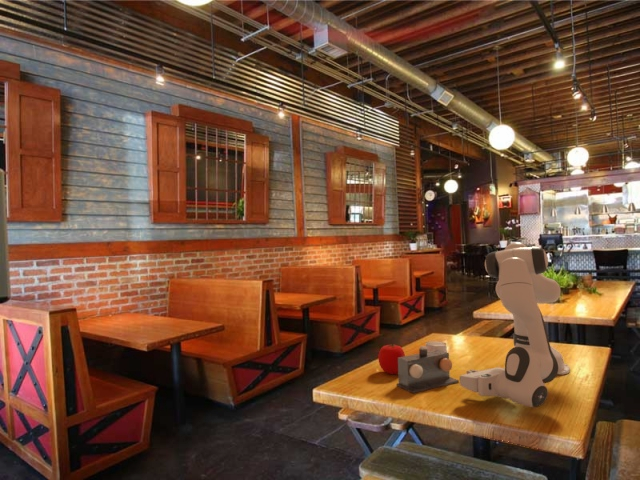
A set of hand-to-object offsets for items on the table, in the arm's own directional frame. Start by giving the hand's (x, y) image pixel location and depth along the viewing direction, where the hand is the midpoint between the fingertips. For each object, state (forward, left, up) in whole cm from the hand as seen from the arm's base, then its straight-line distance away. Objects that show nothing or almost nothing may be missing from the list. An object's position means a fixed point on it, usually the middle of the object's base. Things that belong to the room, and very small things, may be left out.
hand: (469, 372), depth 162 cm
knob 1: (+22, +5, -3) cm, 22 cm away
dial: (+19, -2, +4) cm, 19 cm away
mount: (+17, -1, -7) cm, 18 cm away
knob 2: (+14, -8, -3) cm, 17 cm away
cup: (+19, -19, -8) cm, 28 cm away
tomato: (+35, -8, -8) cm, 37 cm away
